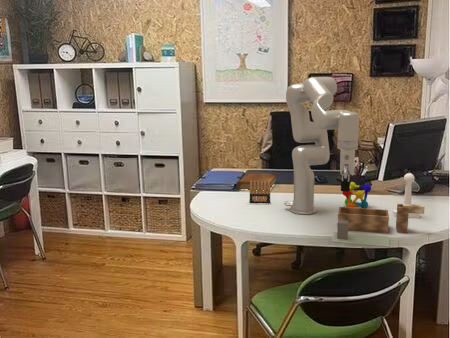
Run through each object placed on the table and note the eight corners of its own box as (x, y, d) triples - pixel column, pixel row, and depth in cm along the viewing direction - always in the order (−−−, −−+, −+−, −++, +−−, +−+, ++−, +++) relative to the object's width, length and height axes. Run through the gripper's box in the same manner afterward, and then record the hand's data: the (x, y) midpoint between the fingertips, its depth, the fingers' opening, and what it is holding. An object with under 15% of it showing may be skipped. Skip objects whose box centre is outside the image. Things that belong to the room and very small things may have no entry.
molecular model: (348, 213, 212) (334, 185, 217) (351, 216, 223) (337, 189, 228) (378, 199, 209) (363, 171, 214) (379, 203, 220) (365, 176, 225)
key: (402, 212, 184) (403, 205, 184) (402, 210, 187) (402, 203, 186) (424, 213, 182) (424, 206, 182) (423, 212, 184) (423, 205, 184)
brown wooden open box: (337, 229, 190) (338, 205, 188) (338, 222, 199) (339, 198, 197) (407, 234, 182) (409, 209, 180) (405, 226, 191) (407, 202, 189)
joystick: (394, 217, 204) (397, 174, 200) (391, 212, 211) (393, 170, 207) (420, 218, 202) (423, 174, 198) (416, 213, 210) (419, 171, 206)
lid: (332, 243, 176) (333, 225, 174) (334, 233, 186) (334, 216, 185) (389, 248, 170) (390, 230, 168) (388, 238, 180) (389, 220, 179)
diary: (246, 182, 279) (246, 172, 278) (276, 183, 274) (276, 174, 273) (237, 190, 257) (237, 180, 256) (269, 192, 252) (269, 182, 251)
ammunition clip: (270, 203, 230) (270, 180, 228) (270, 204, 229) (270, 181, 226) (249, 202, 232) (249, 180, 229) (249, 203, 230) (249, 180, 227)
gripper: (357, 148, 163) (355, 194, 167) (358, 141, 180) (356, 183, 183) (336, 148, 166) (334, 193, 169) (338, 140, 182) (337, 182, 185)
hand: (345, 188), depth 176 cm, fingers open, 9 cm apart
